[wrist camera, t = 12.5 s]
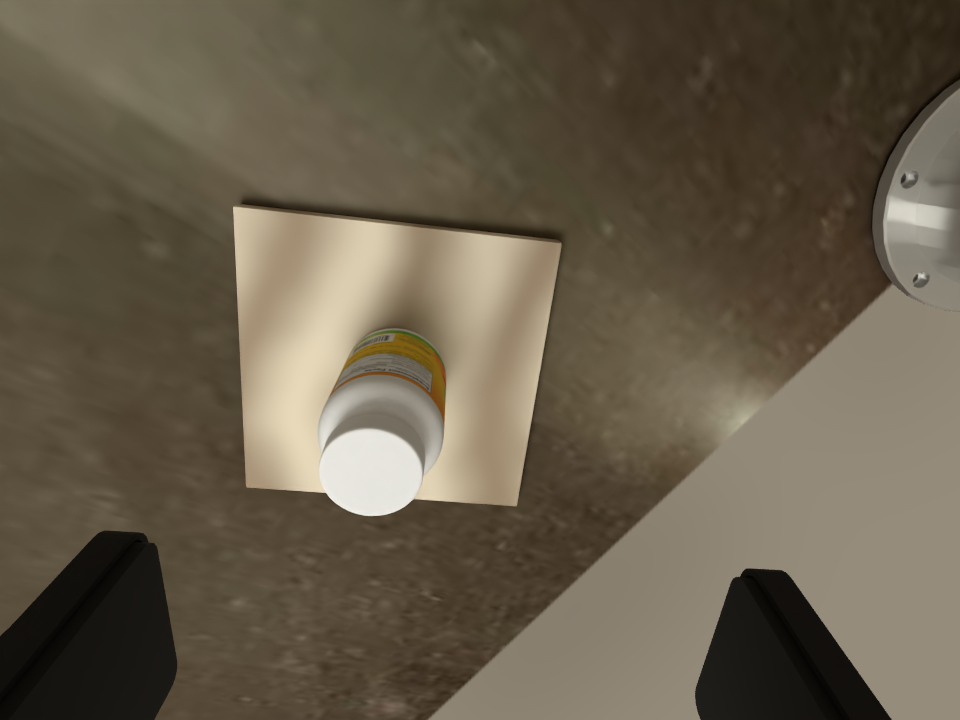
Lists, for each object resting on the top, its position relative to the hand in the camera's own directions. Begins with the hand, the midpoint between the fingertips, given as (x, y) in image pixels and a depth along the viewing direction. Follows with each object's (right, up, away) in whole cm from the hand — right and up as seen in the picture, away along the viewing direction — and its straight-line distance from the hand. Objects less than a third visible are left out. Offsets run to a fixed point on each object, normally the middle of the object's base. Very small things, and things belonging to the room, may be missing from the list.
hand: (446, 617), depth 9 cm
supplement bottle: (-4, +4, +21) cm, 22 cm away
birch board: (-4, +4, +22) cm, 23 cm away
